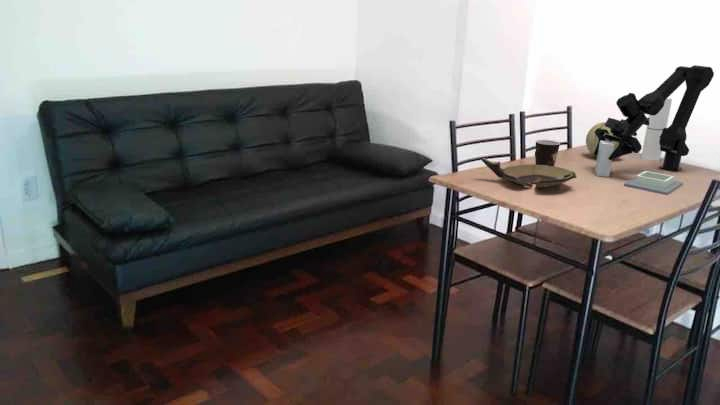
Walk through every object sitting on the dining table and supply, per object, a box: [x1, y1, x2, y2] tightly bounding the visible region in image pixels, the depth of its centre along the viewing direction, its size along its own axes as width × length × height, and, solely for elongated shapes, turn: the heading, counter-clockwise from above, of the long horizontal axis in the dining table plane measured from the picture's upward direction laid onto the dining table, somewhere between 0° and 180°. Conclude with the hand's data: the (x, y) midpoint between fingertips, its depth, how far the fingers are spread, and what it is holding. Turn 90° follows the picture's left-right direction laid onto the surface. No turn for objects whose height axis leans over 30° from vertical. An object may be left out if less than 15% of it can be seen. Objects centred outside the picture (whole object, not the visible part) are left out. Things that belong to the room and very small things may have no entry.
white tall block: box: [640, 96, 673, 162], centre depth 245 cm, size 7×7×25 cm
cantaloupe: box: [585, 121, 619, 158], centre depth 244 cm, size 15×15×15 cm
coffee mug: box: [534, 139, 561, 166], centre depth 224 cm, size 12×9×10 cm
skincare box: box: [594, 140, 615, 178], centre depth 219 cm, size 6×4×12 cm
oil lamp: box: [480, 157, 577, 189], centre depth 205 cm, size 22×30×8 cm
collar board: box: [623, 170, 684, 196], centre depth 209 cm, size 18×14×3 cm
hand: (601, 157), depth 219 cm, fingers closed on skincare box, 7 cm apart
